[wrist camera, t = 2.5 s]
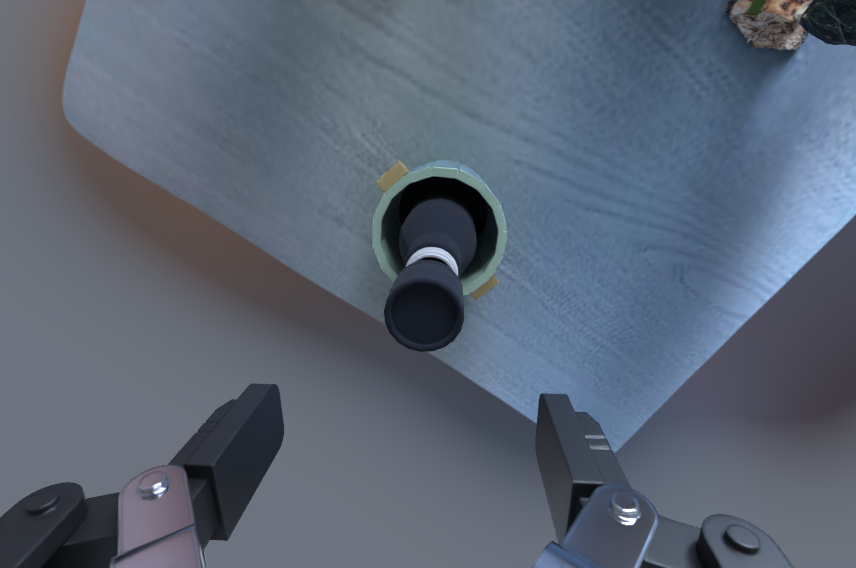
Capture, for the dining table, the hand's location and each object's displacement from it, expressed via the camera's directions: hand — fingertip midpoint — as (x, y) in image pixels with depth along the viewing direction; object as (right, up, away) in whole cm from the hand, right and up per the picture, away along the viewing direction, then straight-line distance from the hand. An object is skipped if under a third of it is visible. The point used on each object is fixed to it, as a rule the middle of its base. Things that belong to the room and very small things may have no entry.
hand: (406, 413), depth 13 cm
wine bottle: (+2, +12, +36) cm, 38 cm away
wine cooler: (+2, +12, +36) cm, 38 cm away
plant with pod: (+34, +30, +28) cm, 53 cm away
